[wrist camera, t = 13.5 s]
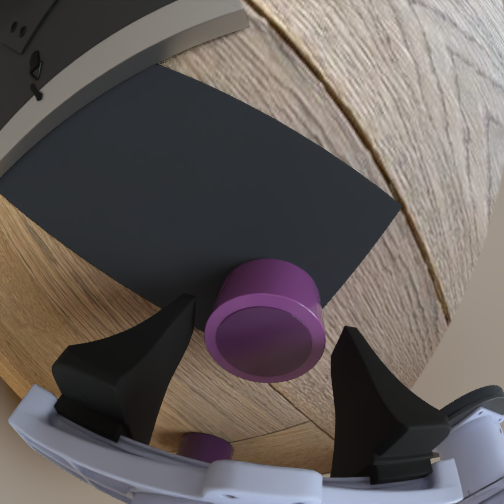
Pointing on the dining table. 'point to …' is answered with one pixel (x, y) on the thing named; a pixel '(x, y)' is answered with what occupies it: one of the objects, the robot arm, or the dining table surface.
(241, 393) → the dining table surface
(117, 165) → the placemat
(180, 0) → the picture frame
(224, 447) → the aubergine dish
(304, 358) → the plum dish
